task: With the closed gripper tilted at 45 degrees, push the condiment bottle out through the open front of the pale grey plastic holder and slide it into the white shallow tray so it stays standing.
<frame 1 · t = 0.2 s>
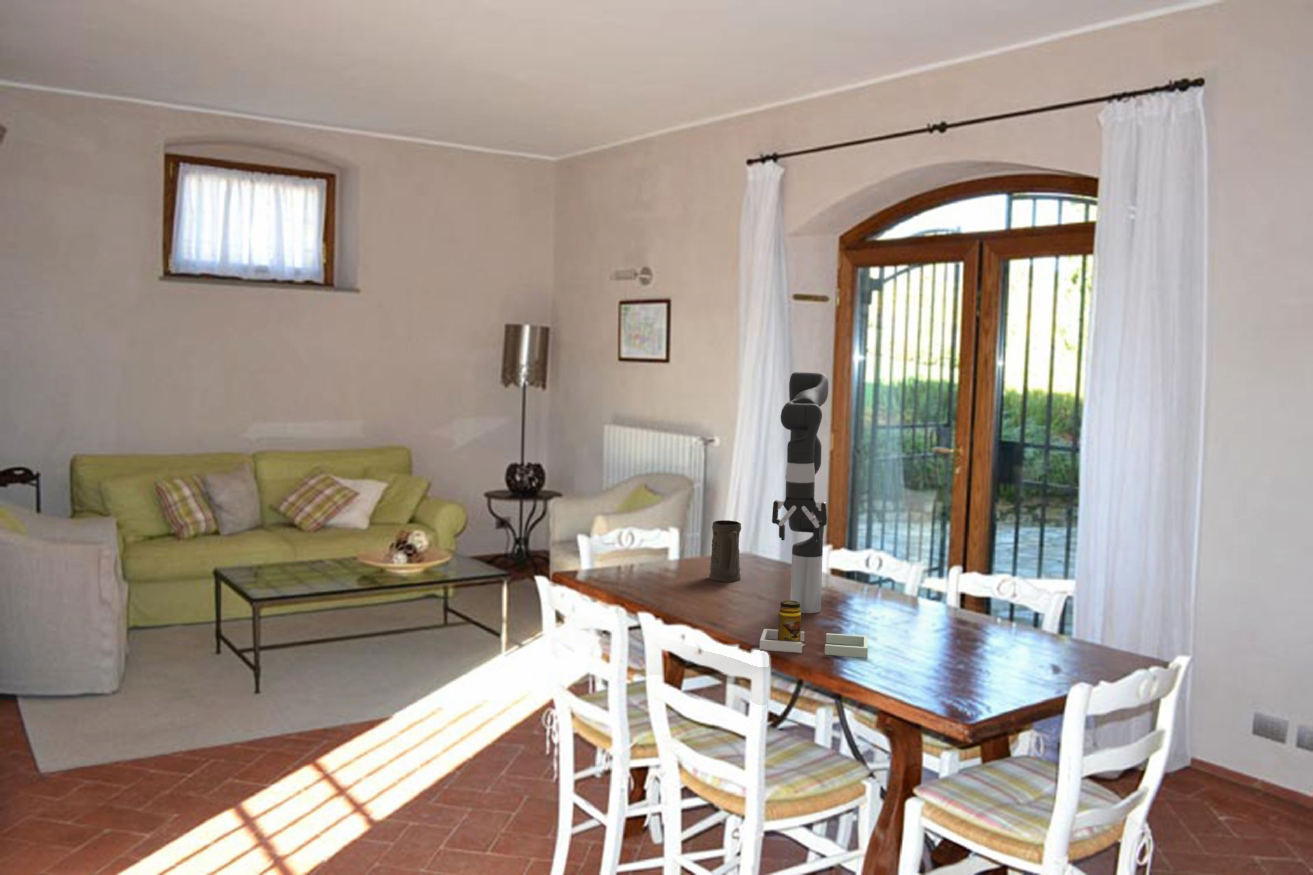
hand: (799, 540, 293), 29 cm above the table, tool pointing down, fingers open, 8 cm apart
beer stein: (728, 580, 381), on the table
white shallow tray: (842, 649, 296), on the table
holder: (785, 645, 299), on the table
condiment: (785, 646, 299), on the table
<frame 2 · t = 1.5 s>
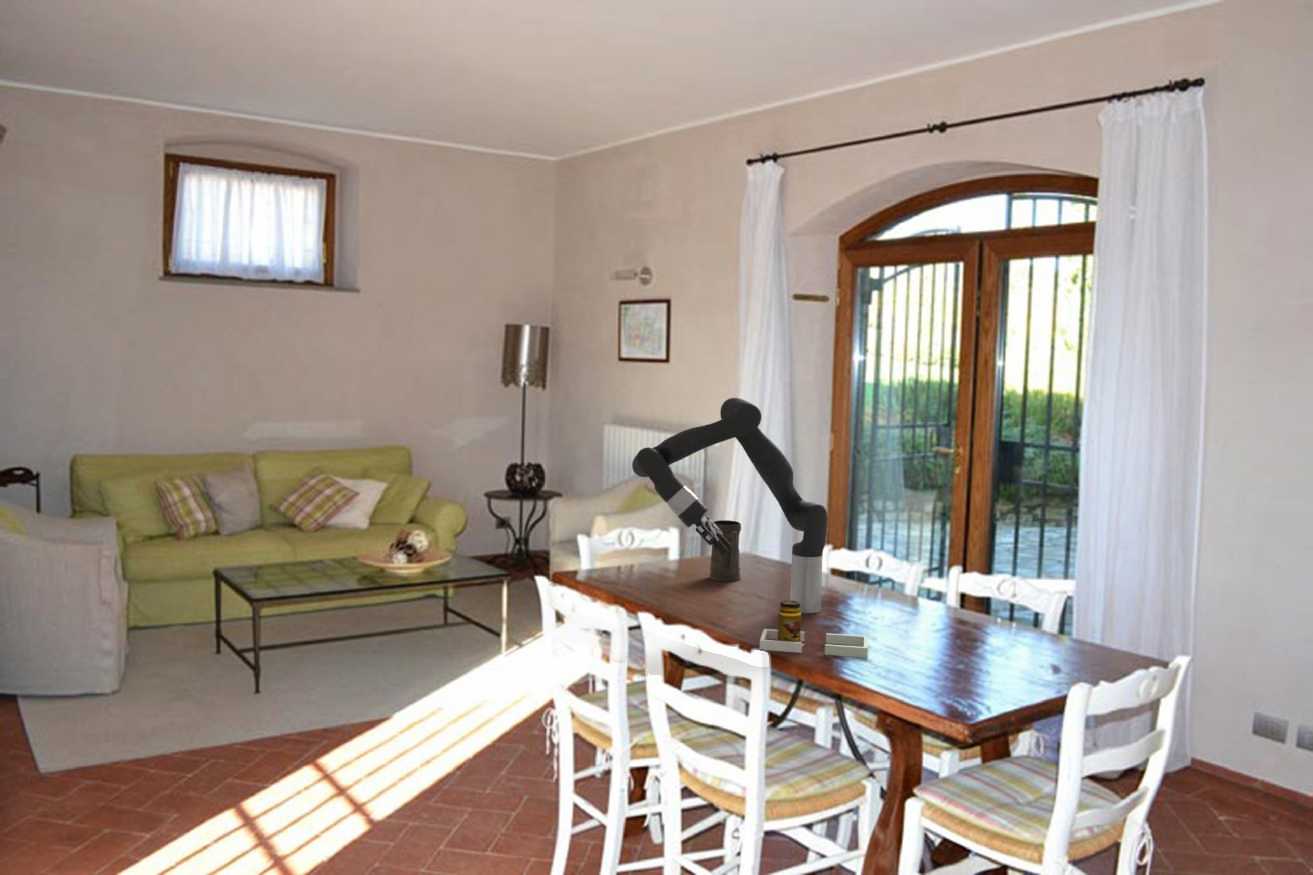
hand: (727, 550, 306), 24 cm above the table, tool tilted 45°, fingers open, 7 cm apart
nothing on the table moved.
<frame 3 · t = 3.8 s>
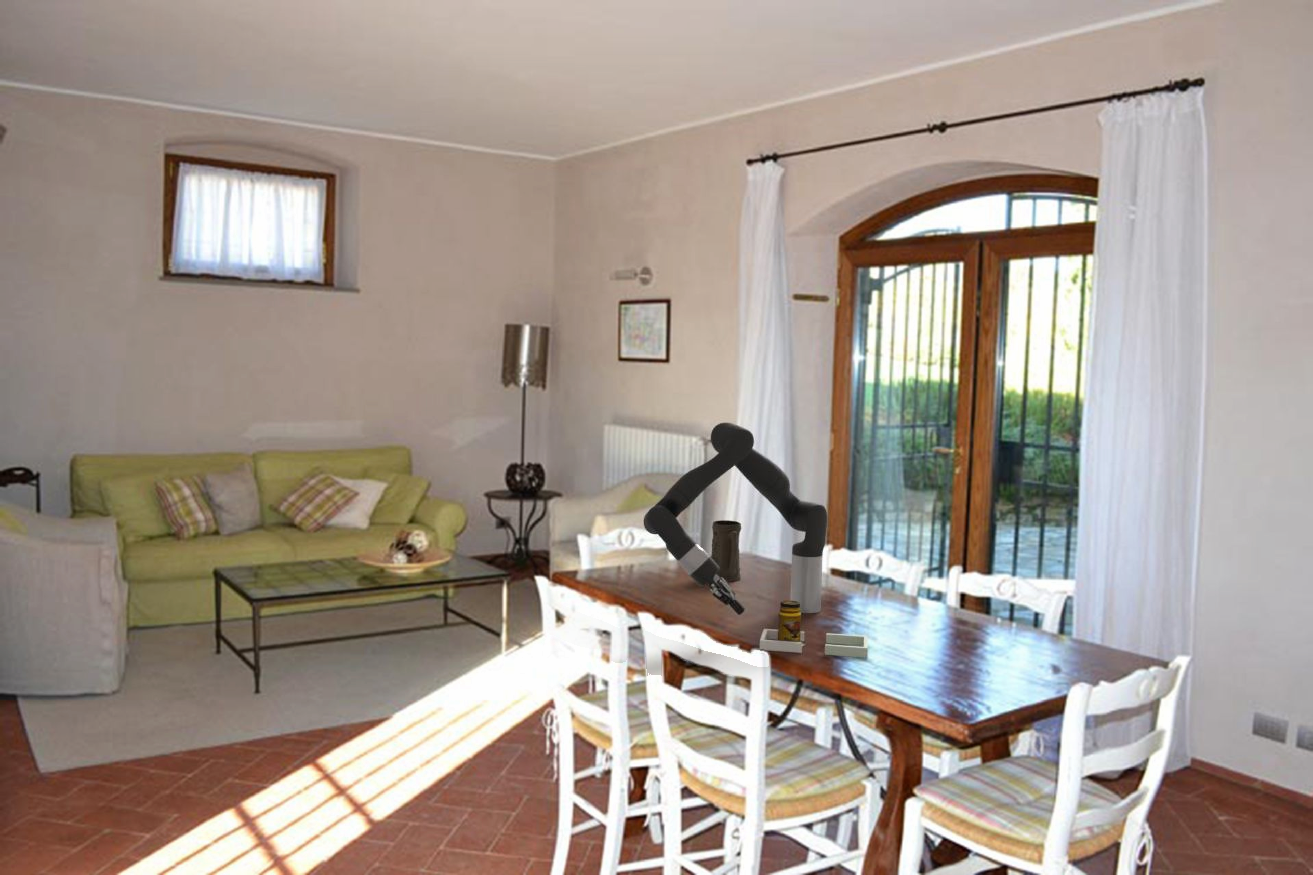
hand: (742, 612, 301), 8 cm above the table, tool tilted 45°, fingers closed
nothing on the table moved.
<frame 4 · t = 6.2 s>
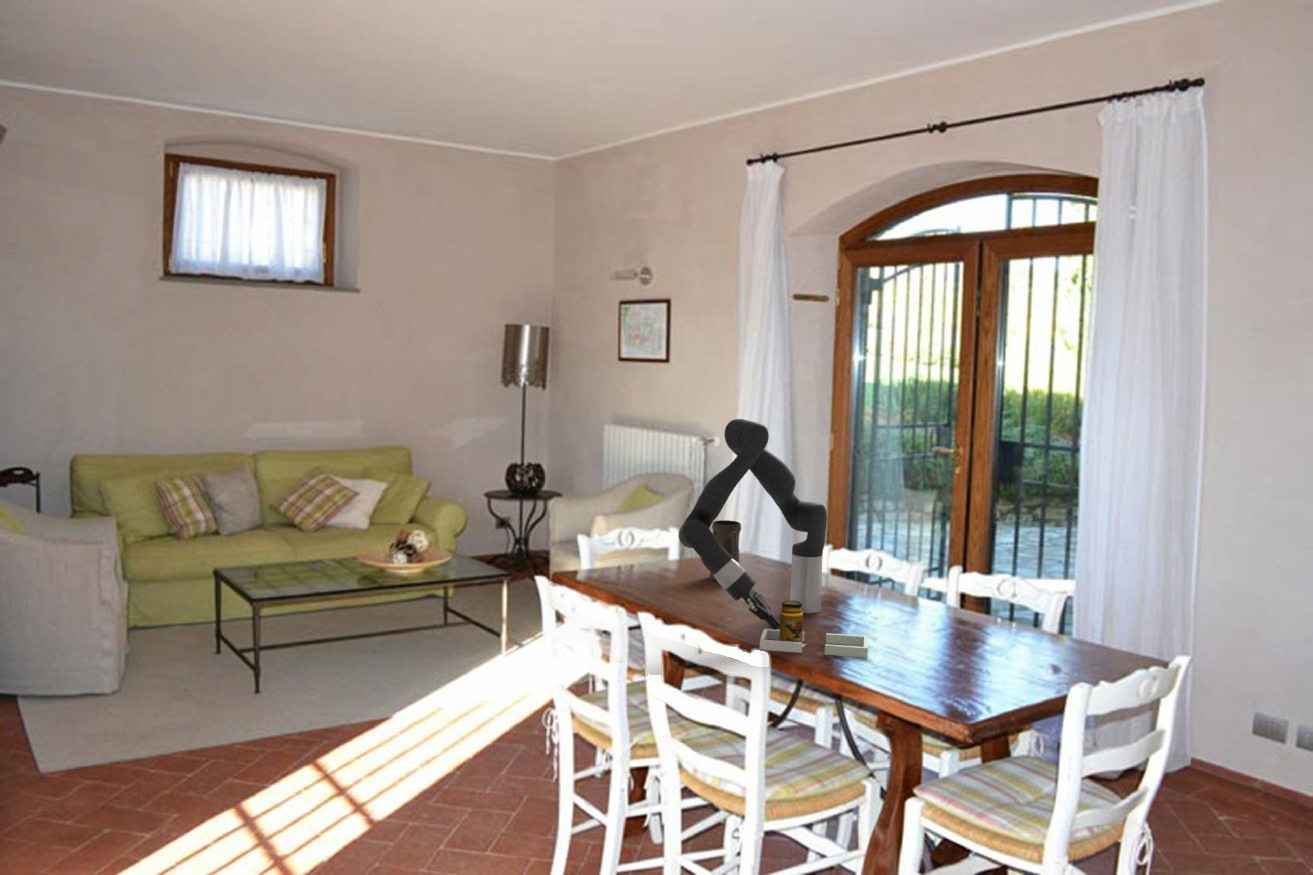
hand: (777, 627, 299), 5 cm above the table, tool tilted 45°, fingers closed
condiment: (787, 646, 299), on the table, touching gripper
everything else where it was.
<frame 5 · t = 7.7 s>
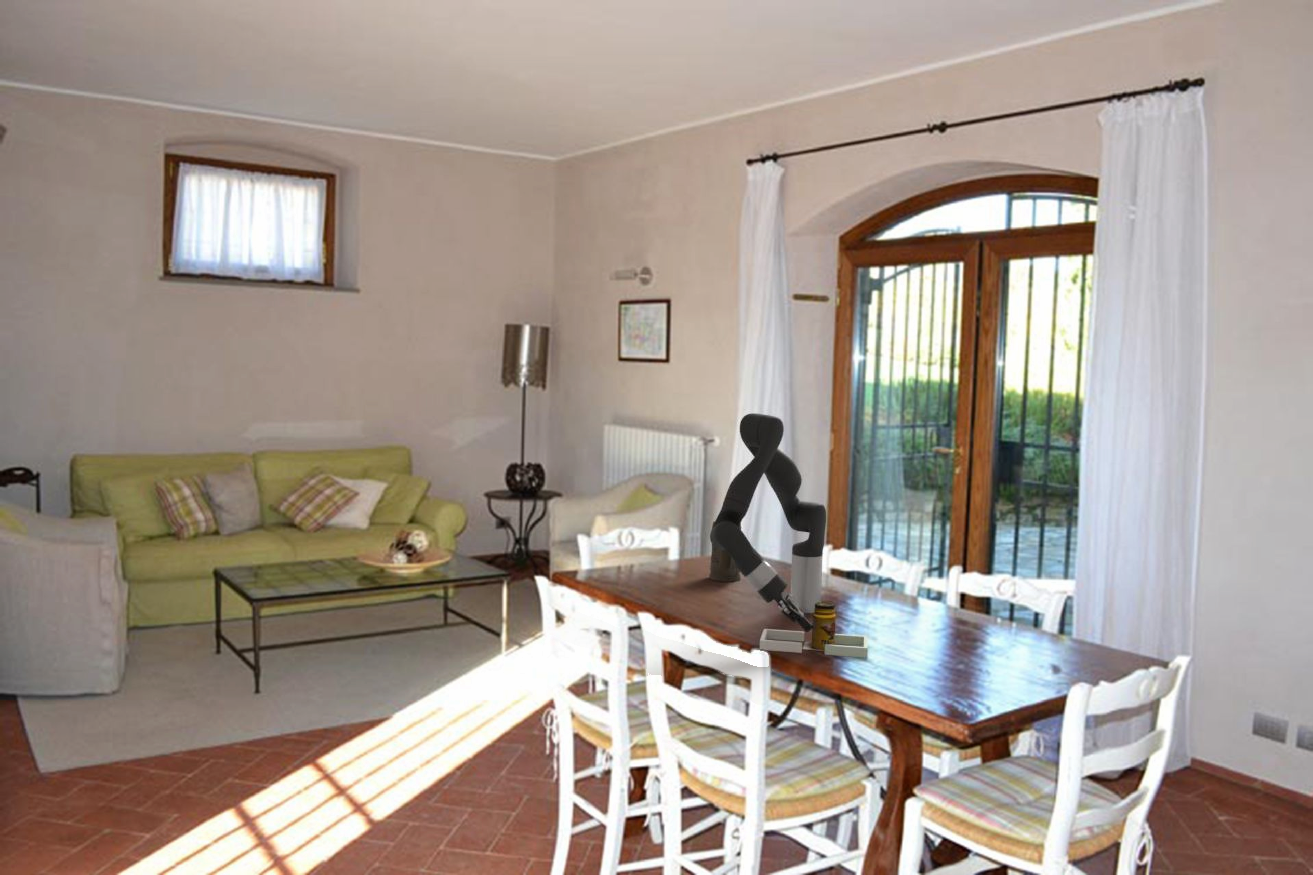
hand: (810, 629, 297), 5 cm above the table, tool tilted 45°, fingers closed
condiment: (819, 648, 298), on the table, touching gripper
everything else where it was.
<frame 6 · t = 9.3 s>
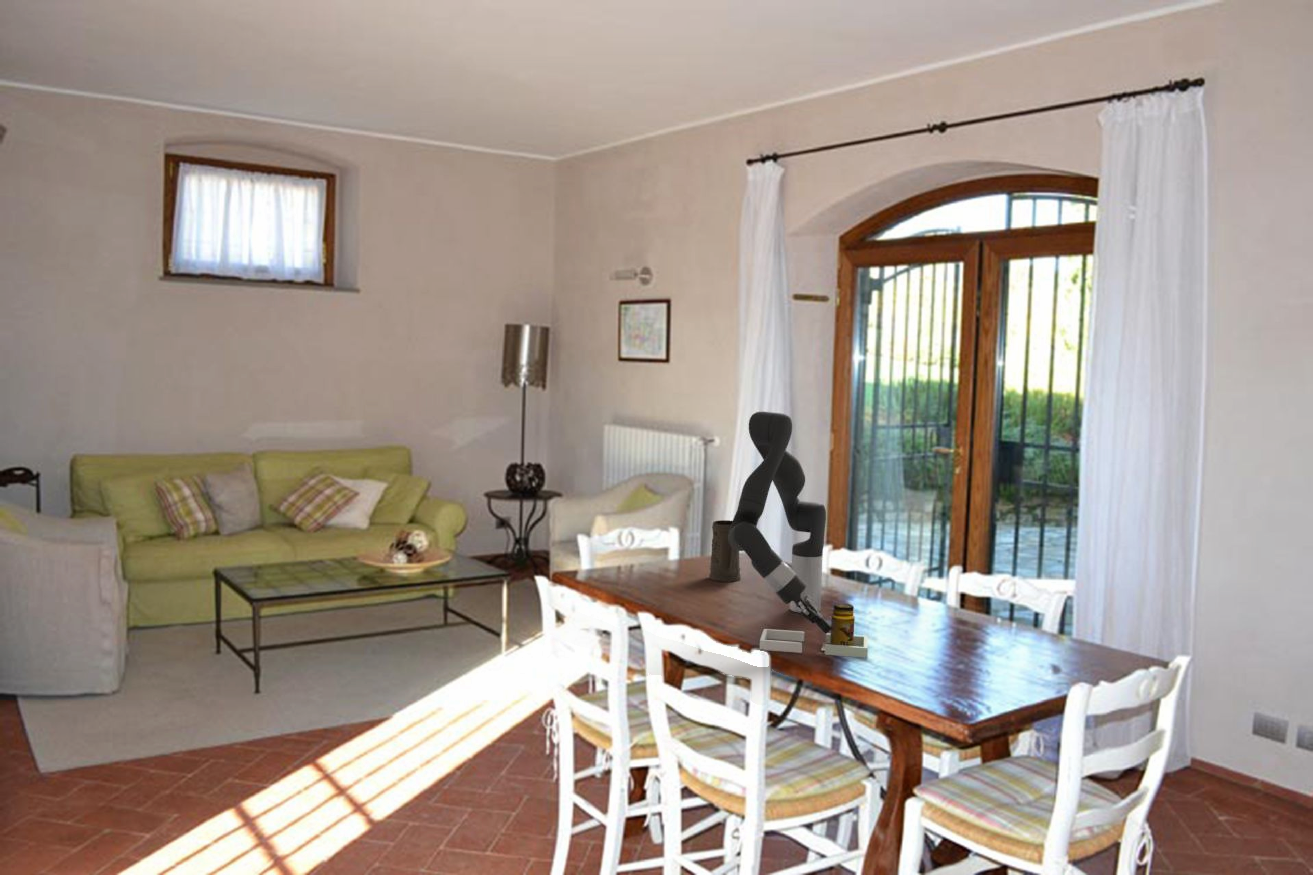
hand: (828, 630, 296), 5 cm above the table, tool tilted 45°, fingers closed
condiment: (838, 649, 297), on the table, touching gripper
everything else where it was.
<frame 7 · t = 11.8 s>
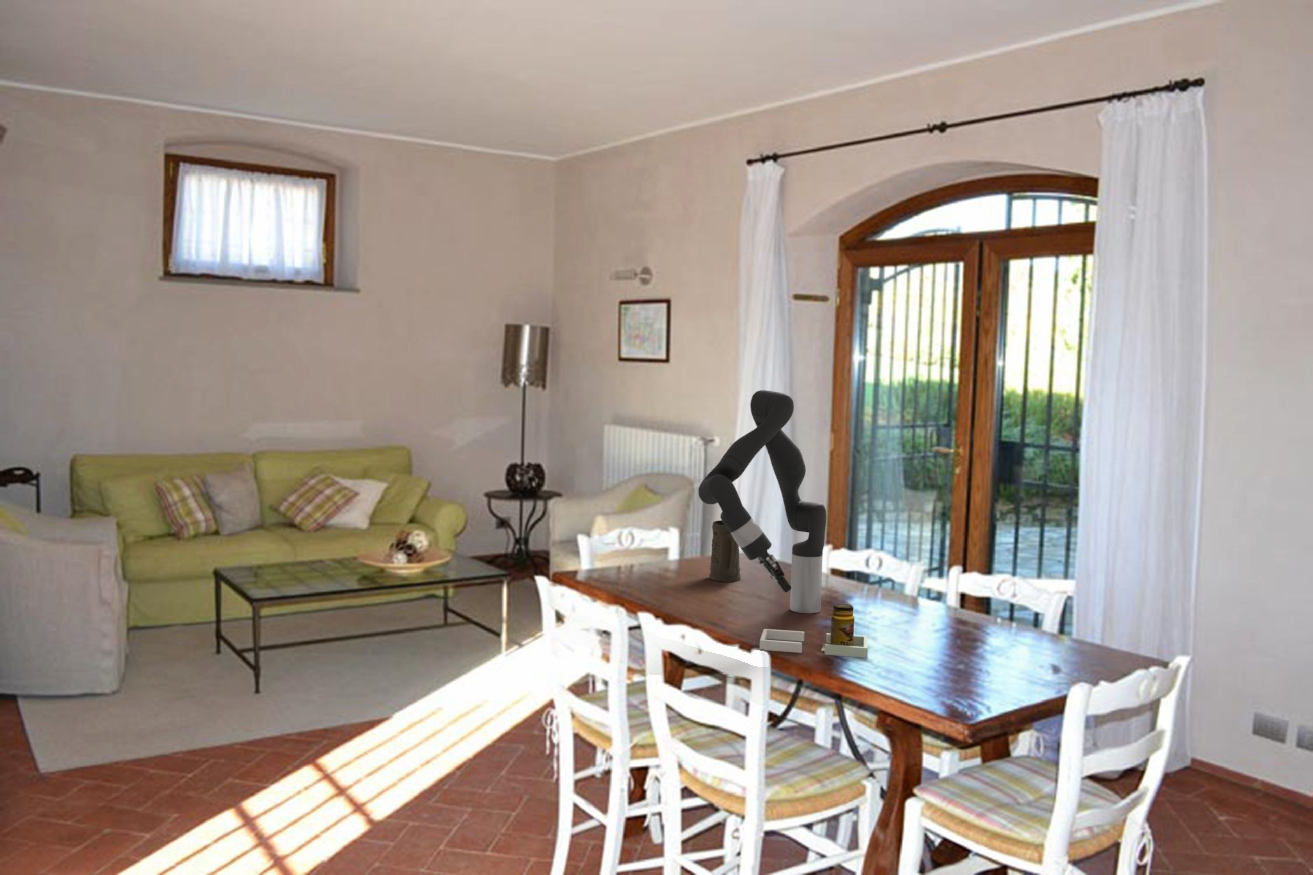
hand: (788, 590, 301), 14 cm above the table, tool tilted 35°, fingers closed
condiment: (838, 649, 297), on the table
everything else where it was.
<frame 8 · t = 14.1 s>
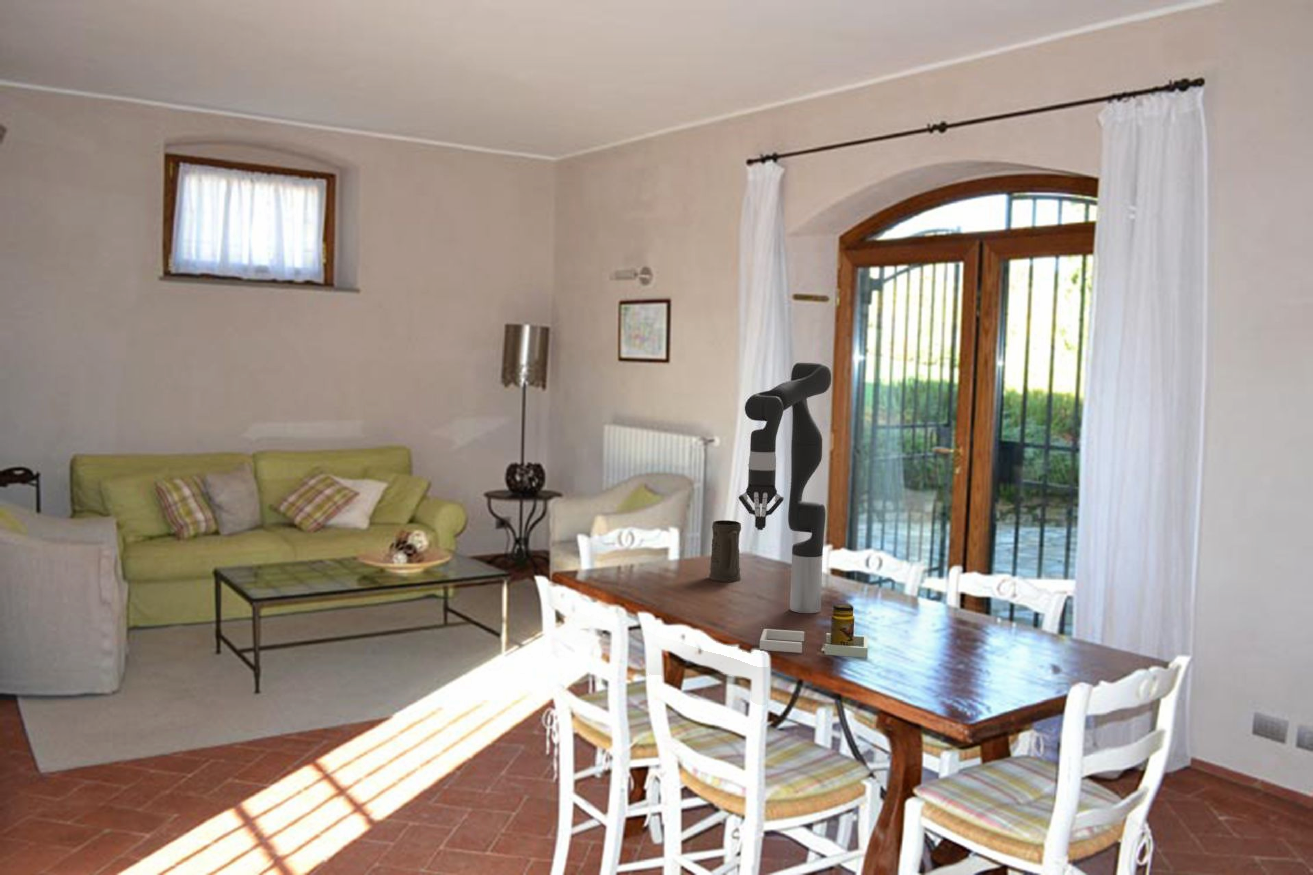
hand: (760, 529, 310), 29 cm above the table, tool pointing down, fingers closed
nothing on the table moved.
at the end: condiment inside the target area on the white shallow tray (1.4 cm from its centre), point 0.0 cm above the white shallow tray's base; condiment tilted 0°; condiment moved 13.9 cm from its start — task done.
